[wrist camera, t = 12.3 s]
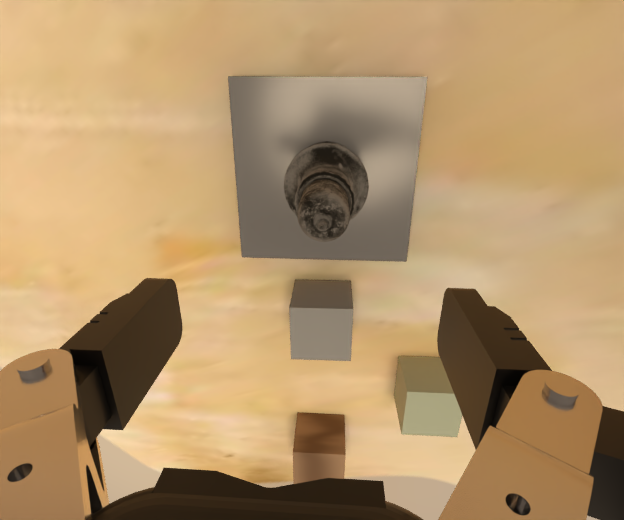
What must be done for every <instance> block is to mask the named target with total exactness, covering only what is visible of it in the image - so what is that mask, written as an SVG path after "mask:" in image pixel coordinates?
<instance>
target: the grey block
mask: <svg viewBox="0 0 624 520" xmlns="http://www.w3.org/2000/svg"><path fill="white" fill-rule="evenodd" d="M289 309H290V341H291V359H304V360H335V361H351V346H352V325H353V301H352V289H351V281H339V280H295V284H294V289H293V293H292V298H291V303H290V307H289Z"/></svg>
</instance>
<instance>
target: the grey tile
mask: <svg viewBox="0 0 624 520" xmlns="http://www.w3.org/2000/svg"><path fill="white" fill-rule="evenodd" d="M228 82H229V95H230V108H231V121H232V134H233V147H234V160H235V173H236V186H237V199H238V212H239V225H240V238H241V251H242V257H252V258H290V259H328V260H366V261H404V262H406V261H407V252H408V244H409V235H410V226H411V217H412V208H413V200H414V191H415V182H416V173H417V164H418V156H419V147H420V138H421V129H422V120H423V112H424V103H425V94H426V85H427V77H271V76H228ZM326 141H328V142H336V143H338V144H341V145H343V146H345V147H346V148H348V149H349V150H350V151H352V152H353V153H354V154H355V155H357V156H358V158H359V159H360V161H361V162H362V163H363V165H364V167H365V170H366V172H367V175H368V182H369V189H368V195H367V199H366V201H365V203H364V206H363V208H362V209H361V210H360V211H359V213H358V214H357V215H356V216H355V217H354V218H352V219H351V220H350V221H349V224H348V226H347V229H346V230H345V231H344V233H343V234H342V235H341V236H340V237H338V238H337V239H335V240H332V241H327V242H321V241H316V240H314V239H311V238H310V237H308V236H307V235H306V234H305V233H304V232H303V231H302V229H301V227H300V225H299V223H298V218H297V216H296V214H295V213H294V212H293V211H292V210H291V209H290V207H289V204H288V202H287V200H286V197H285V192H284V177H285V174H286V171H287V168H288V166H289V165H290V163H291V162H292V160H293V159H294V157H295V156H296V155H298V154H299V153H300V152H301V151H302V150H304V149H306V148H308V147H309V146H312V145H314V144H316V143H319V142H326Z"/></svg>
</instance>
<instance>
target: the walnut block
mask: <svg viewBox="0 0 624 520" xmlns="http://www.w3.org/2000/svg"><path fill="white" fill-rule="evenodd" d="M344 470H345V423H344V415H339V414H318V413H298V414H297V422H296V431H295V439H294V448H293V478H294V484H297V483H303V482H308V481H313V480H319V479H324V478H338V479H344Z"/></svg>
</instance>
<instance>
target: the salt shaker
mask: <svg viewBox="0 0 624 520" xmlns="http://www.w3.org/2000/svg"><path fill="white" fill-rule="evenodd" d="M368 189H369V182H368V175H367V172H366V170H365V167H364V165H363V163H362V162H361V161H360V159H359V158H358V156H357V155H355V154H354V153H353V152H352V151H350V150H349V149H348V148H346V147H345V146H343V145H341V144H338V143H336V142H328V141H326V142H319V143H316V144H314V145H312V146H309V147H308V148H306V149H304V150H302V151H301V152H300V153H299V154H298V155H296V156H295V157H294V159H293V160H292V162H291V163H290V165H289V166H288V168H287V171H286V174H285V177H284V192H285V197H286V200H287V202H288V204H289V207H290V209H291V210H292V211H293V212H294V213H295V214H296V216H297V218H298V223H299V225H300V227H301V229H302V231H303V232H304V233H305V234H306V235H307V236H308V237H310V238H311V239H314V240H316V241H321V242H327V241H332V240H335V239H337V238H338V237H340V236H341V235H342V234H343V233H344V231H345V230H346V229H347V226H348V224H349V221H350V220H351V219H352V218H354V217H355V216H356V215H357V214H358V213H359V211H360V210H361V209H362V208H363V206H364V203H365V201H366V199H367V195H368Z"/></svg>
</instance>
